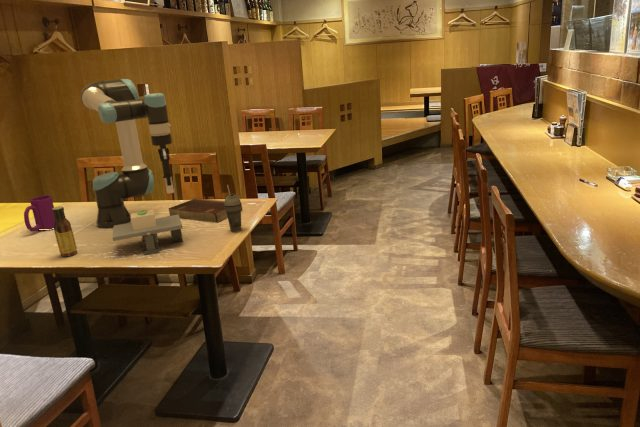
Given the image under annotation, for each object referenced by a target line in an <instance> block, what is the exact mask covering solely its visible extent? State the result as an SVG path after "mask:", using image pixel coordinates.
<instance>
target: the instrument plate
mask: <svg viewBox="0 0 640 427" xmlns="http://www.w3.org/2000/svg"><path fill="white" fill-rule="evenodd" d="M130 216H131V221H130V222H129V223H126V224H120V225H115V226H114V227H112V229H113V230H112V241H113V242H116V241H120V240H121V241H122V240H126V239H127V240H128V239H131V238H138V237H142V236H144V235H151V234H155V233H157V234H159V233H165V232H171V231H172V230H177V229H181V230H183V228H184V227H183V224H182V221H181V219H180V217H179V214H178V215H172V216H170V215H168V216H162V217H156V215H155V210H154V209H150V210H140V211H138V212H133V213H130Z"/></svg>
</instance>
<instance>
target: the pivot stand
mask: <svg viewBox="0 0 640 427" xmlns="http://www.w3.org/2000/svg"><path fill="white" fill-rule="evenodd" d="M170 235H171V241H172V244H177V243H183V242H184V240H183V234H182V229H177V230H172V231H170ZM158 237H159V236H158V233H155V234H151V235H144V236H141V239H142V251H143V256H147V255H153V254H159V253H161V250H160V245H159V244H160V243H159V239H158Z"/></svg>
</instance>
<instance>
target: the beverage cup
mask: <svg viewBox="0 0 640 427" xmlns="http://www.w3.org/2000/svg"><path fill="white" fill-rule="evenodd" d="M226 186H227V190H228V191H227V192H228V195H227V196H226V198H225V199H224V200H223V201H224V206H225V209H226V213H227V217H228V218H227V220H228V226H229V229H230V232H231V233H238V232H240V231H242V211H241V204H242V201H241V199H240V198H239V197H238V195H236V194H231V191H230V187H229V184H227V185H226Z"/></svg>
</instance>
